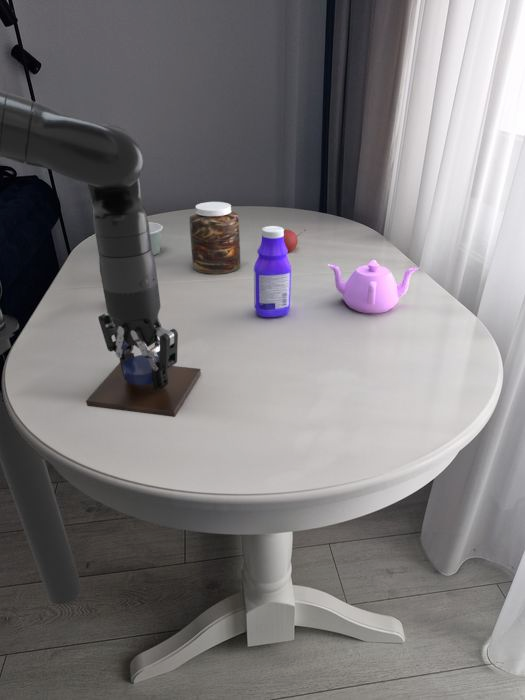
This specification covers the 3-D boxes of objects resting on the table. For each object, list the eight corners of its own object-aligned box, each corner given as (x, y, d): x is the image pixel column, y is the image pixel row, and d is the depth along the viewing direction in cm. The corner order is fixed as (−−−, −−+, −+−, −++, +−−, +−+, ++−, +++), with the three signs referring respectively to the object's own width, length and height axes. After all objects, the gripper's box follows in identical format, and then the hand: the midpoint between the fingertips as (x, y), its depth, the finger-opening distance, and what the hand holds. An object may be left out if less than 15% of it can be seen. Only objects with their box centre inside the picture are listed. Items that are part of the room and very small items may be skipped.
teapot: (413, 307, 106) (419, 266, 101) (361, 323, 100) (364, 280, 95) (375, 288, 115) (379, 249, 110) (324, 301, 109) (326, 261, 104)
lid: (171, 371, 80) (170, 361, 79) (144, 389, 75) (143, 378, 75) (143, 360, 83) (142, 350, 82) (115, 377, 78) (114, 367, 77)
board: (86, 406, 77) (85, 400, 76) (122, 365, 87) (121, 360, 86) (175, 417, 74) (174, 411, 74) (201, 373, 84) (200, 368, 84)
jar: (233, 256, 135) (231, 198, 127) (245, 271, 125) (244, 209, 117) (189, 261, 131) (184, 202, 124) (198, 277, 122) (193, 214, 114)
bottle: (286, 305, 107) (287, 223, 99) (293, 316, 102) (294, 231, 94) (252, 308, 106) (250, 225, 97) (257, 320, 101) (256, 234, 92)
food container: (172, 253, 137) (170, 229, 134) (130, 262, 131) (126, 237, 128) (154, 242, 146) (151, 219, 142) (113, 250, 140) (109, 226, 137)
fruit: (295, 260, 137) (309, 233, 135) (277, 251, 135) (292, 224, 132) (287, 252, 142) (302, 226, 140) (270, 244, 140) (284, 218, 137)
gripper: (187, 281, 71) (196, 383, 79) (113, 263, 78) (129, 359, 86) (149, 300, 65) (163, 408, 74) (73, 279, 72) (94, 380, 80)
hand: (145, 381), depth 80 cm, fingers closed on lid, 5 cm apart
